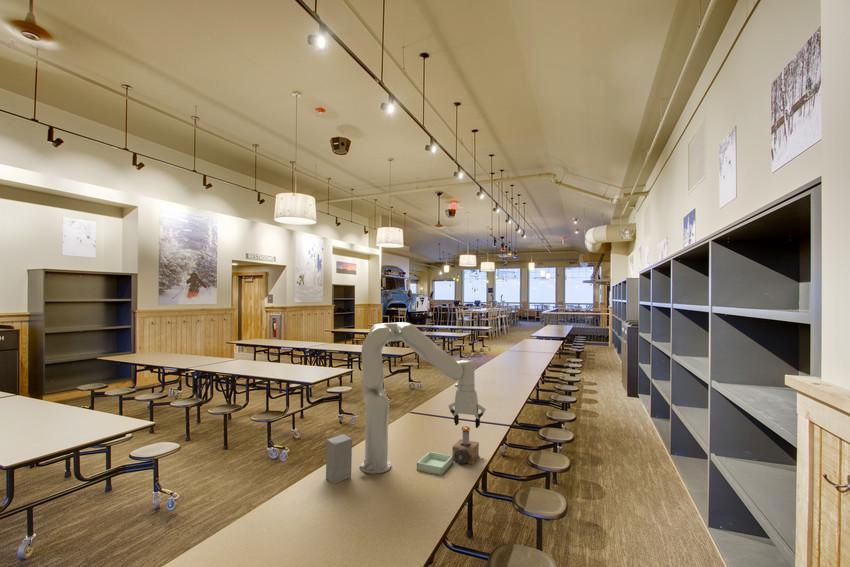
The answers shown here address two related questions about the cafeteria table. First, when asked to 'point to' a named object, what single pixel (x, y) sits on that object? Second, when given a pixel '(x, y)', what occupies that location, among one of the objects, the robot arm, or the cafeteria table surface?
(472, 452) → the block
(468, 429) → the lock pin
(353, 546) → the cafeteria table surface
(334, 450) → the skincare box
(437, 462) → the tray
